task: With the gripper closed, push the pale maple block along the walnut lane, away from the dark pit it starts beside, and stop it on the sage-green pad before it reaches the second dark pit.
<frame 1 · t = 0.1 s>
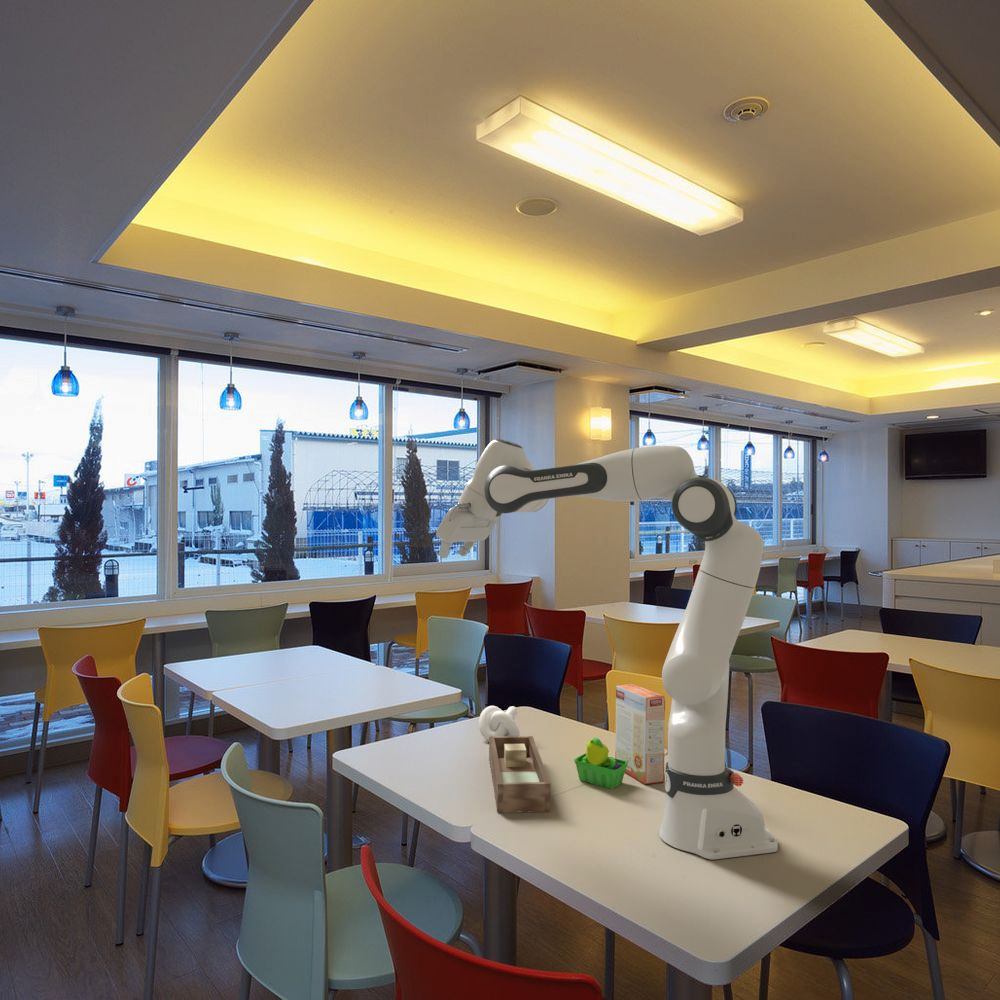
hand: (452, 555, 170), 54 cm above the table, tool tilted 30°, fingers open, 8 cm apart
white rounded piece: (502, 739, 209), on the table
fruit basket: (599, 783, 176), on the table
trap lane: (516, 783, 174), on the table
cracker box: (639, 775, 181), on the table
maple block: (514, 763, 179), point 3 cm above the table, touching trap lane
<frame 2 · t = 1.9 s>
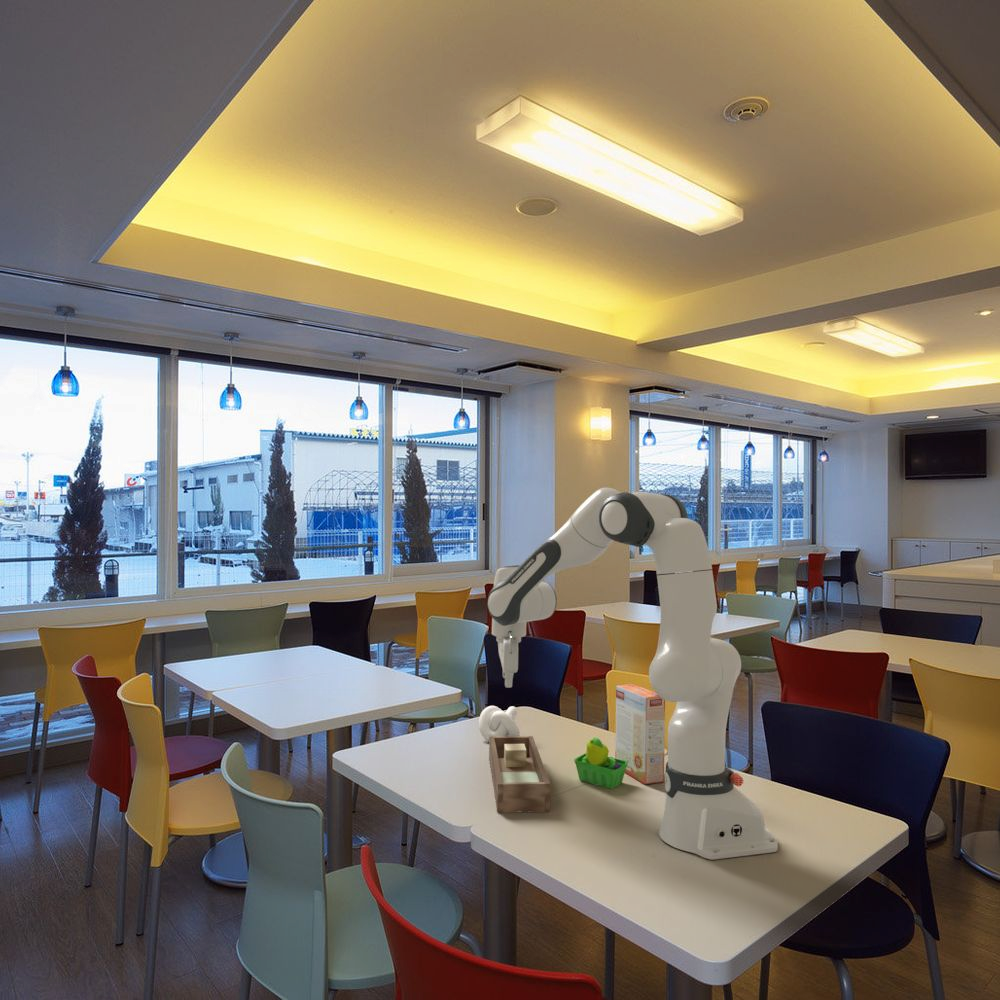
hand: (507, 682, 187), 21 cm above the table, tool pointing down, fingers open, 8 cm apart
nothing on the table moved.
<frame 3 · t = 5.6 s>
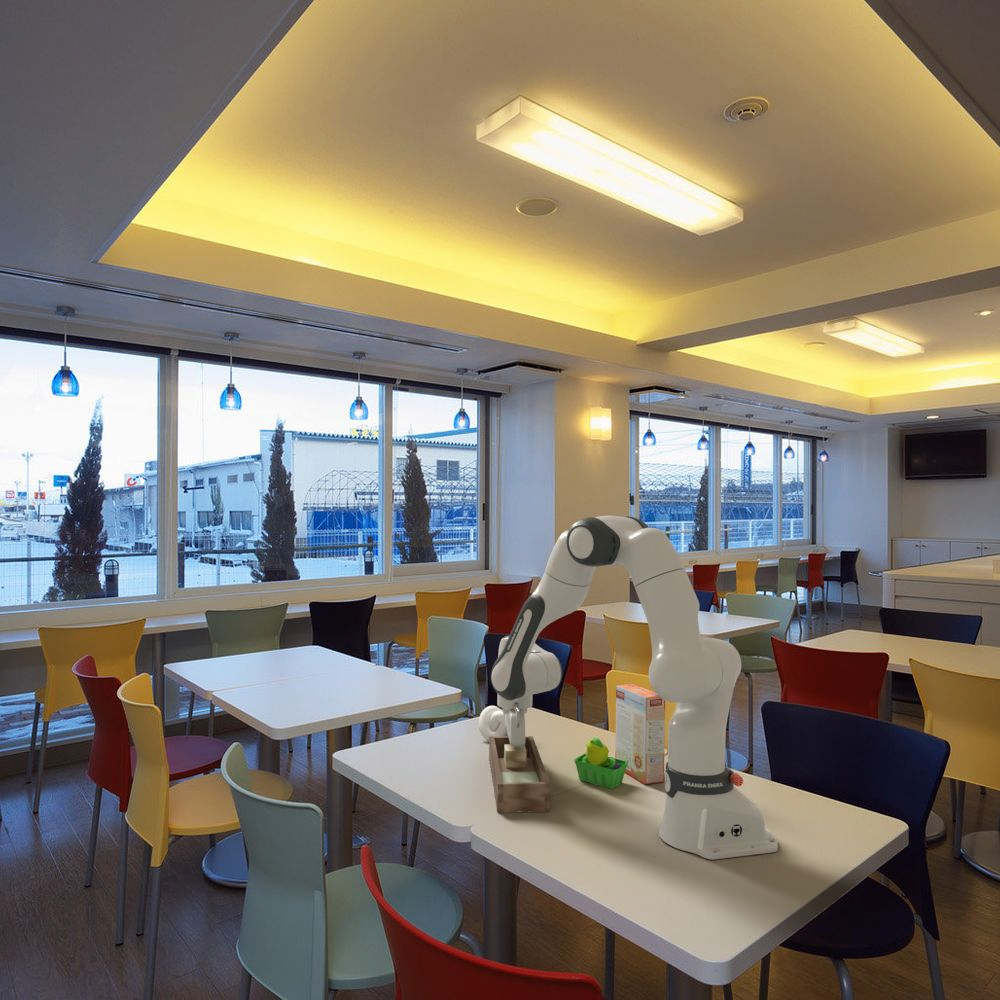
hand: (514, 753, 184), 4 cm above the table, tool pointing down, fingers closed
maple block: (515, 764, 179), point 3 cm above the table, touching gripper
everything else where it was.
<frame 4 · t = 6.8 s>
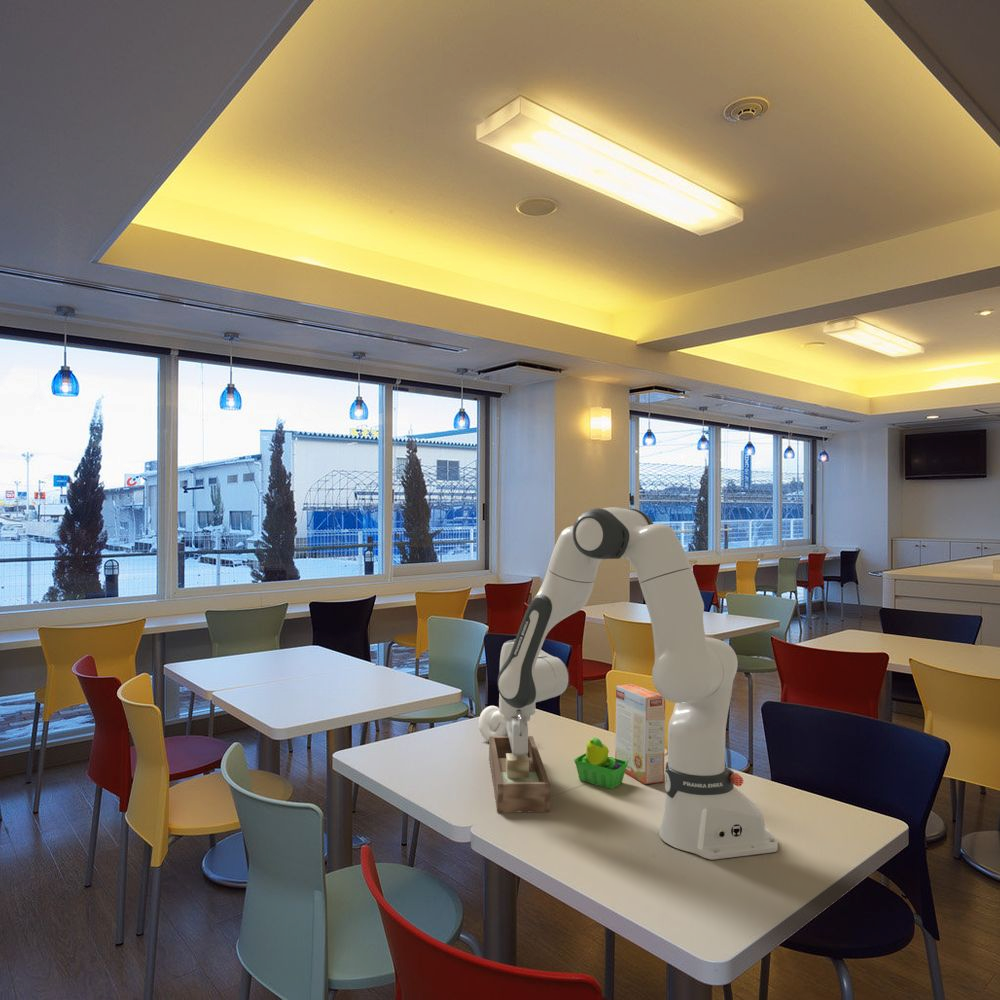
hand: (516, 762, 177), 4 cm above the table, tool pointing down, fingers closed
maple block: (517, 773, 172), point 3 cm above the table, touching gripper, trap lane
everything else where it was.
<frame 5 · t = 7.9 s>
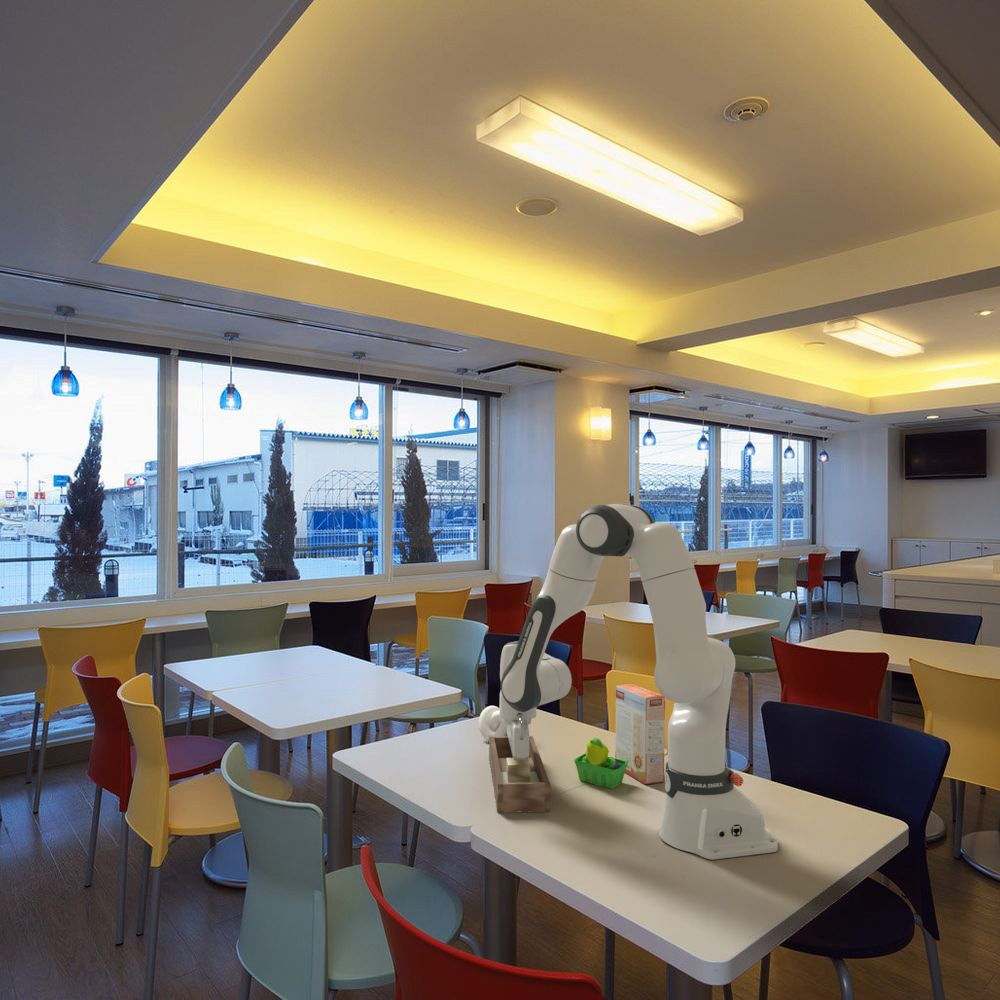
hand: (517, 766, 174), 4 cm above the table, tool pointing down, fingers closed
maple block: (517, 778, 169), point 3 cm above the table, touching gripper, trap lane
everything else where it was.
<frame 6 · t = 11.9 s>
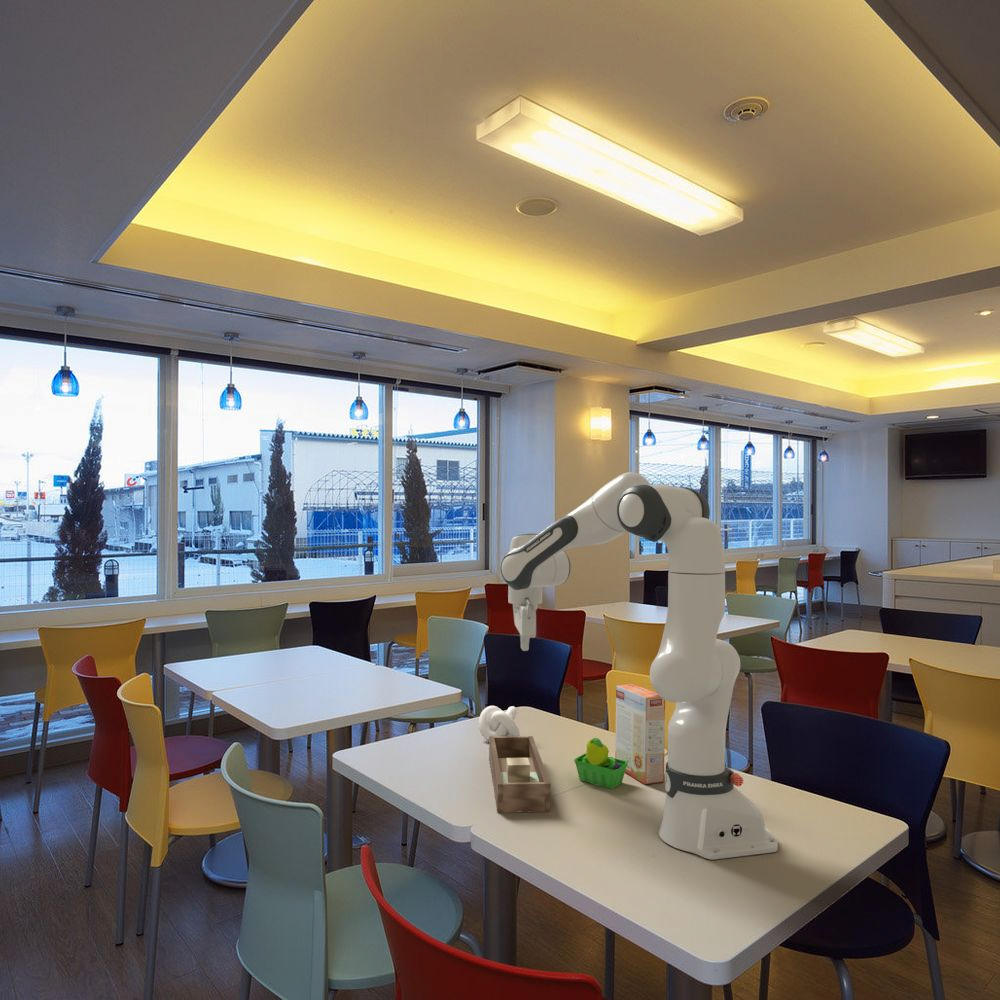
hand: (524, 649, 189), 29 cm above the table, tool pointing down, fingers closed
maple block: (517, 778, 169), point 3 cm above the table, touching trap lane
everything else where it was.
at the end: maple block inside the target area on the trap lane (0.8 cm from its centre), point 3.0 cm above the trap lane's base; maple block tilted 0°; maple block moved 10.5 cm from its start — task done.
